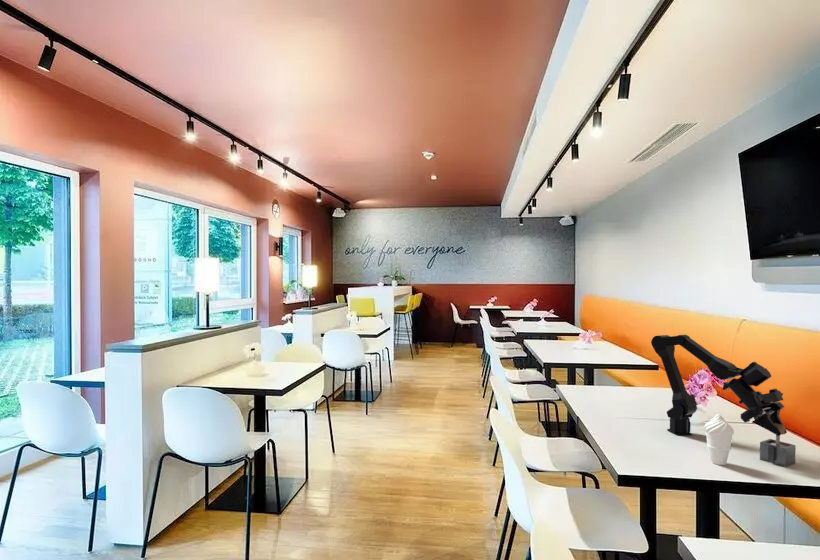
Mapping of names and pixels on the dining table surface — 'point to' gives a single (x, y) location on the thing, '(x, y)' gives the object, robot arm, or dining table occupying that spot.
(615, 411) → the dining table surface
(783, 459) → the box
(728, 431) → the soft serve ice cream cone
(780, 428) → the plunger
